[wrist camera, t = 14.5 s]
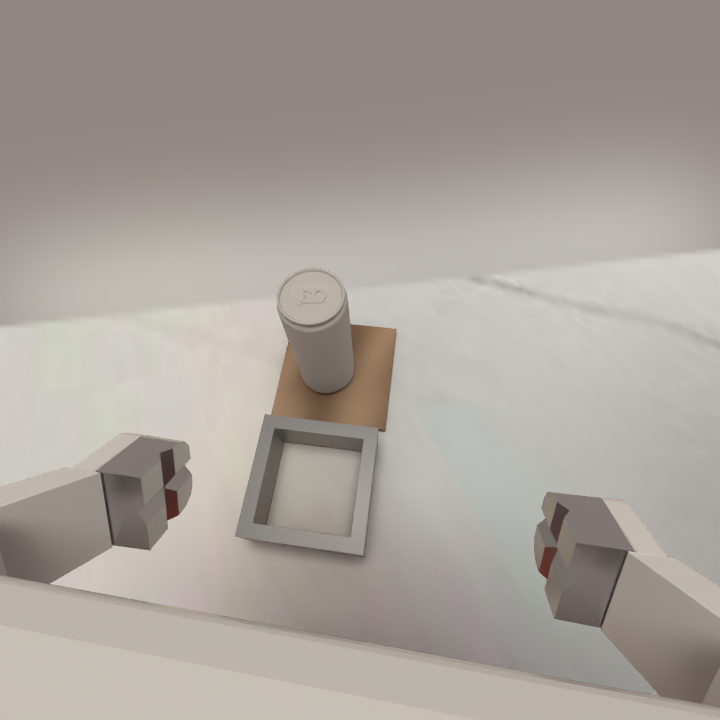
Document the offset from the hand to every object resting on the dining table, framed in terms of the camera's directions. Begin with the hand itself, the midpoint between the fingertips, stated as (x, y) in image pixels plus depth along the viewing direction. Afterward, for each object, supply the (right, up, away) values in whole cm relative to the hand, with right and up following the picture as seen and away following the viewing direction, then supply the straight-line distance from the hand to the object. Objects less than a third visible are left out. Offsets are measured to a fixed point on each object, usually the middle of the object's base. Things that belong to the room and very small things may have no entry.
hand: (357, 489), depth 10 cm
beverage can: (-3, +2, +29) cm, 29 cm away
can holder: (-3, -8, +25) cm, 26 cm away
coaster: (-2, +2, +30) cm, 30 cm away
